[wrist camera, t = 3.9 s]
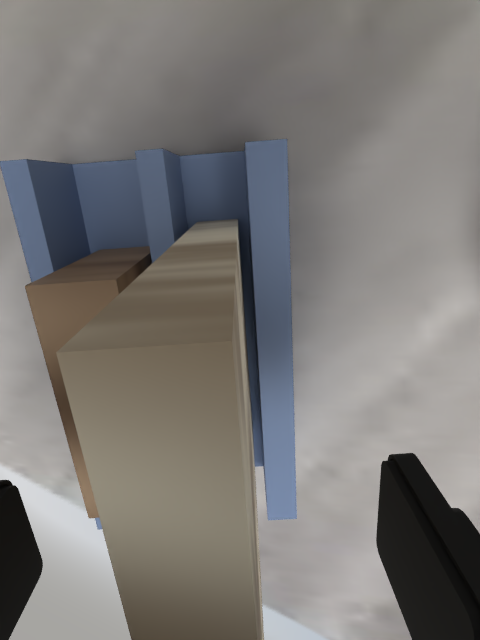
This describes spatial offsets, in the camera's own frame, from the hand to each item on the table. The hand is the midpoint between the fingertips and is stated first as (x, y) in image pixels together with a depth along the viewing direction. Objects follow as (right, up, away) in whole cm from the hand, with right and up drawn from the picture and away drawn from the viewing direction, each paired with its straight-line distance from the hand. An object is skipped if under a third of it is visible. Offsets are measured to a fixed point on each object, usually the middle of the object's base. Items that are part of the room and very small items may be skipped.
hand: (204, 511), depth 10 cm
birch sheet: (0, +4, +11) cm, 12 cm away
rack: (-2, +4, +12) cm, 13 cm away
